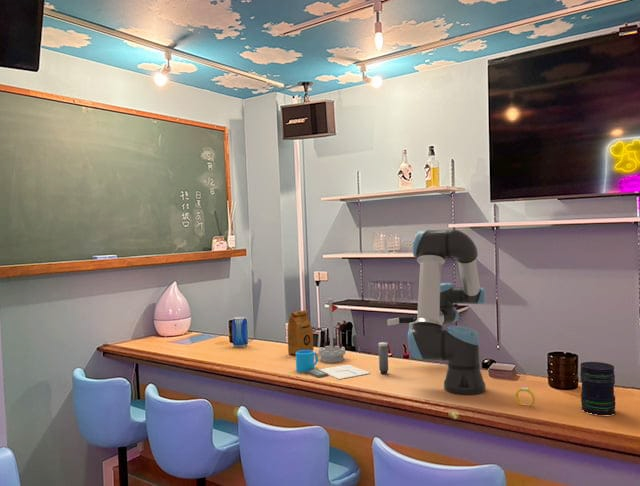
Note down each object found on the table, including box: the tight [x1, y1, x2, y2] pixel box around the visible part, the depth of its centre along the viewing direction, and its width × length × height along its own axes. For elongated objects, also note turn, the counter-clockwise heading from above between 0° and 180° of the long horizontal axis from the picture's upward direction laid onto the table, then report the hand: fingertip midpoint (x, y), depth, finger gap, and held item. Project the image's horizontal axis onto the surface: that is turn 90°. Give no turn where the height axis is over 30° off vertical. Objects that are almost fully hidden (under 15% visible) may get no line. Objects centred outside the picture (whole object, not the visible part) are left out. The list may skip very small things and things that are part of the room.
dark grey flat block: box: [306, 368, 329, 379], centre depth 222 cm, size 10×5×1 cm, turn 30°
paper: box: [318, 364, 371, 381], centre depth 224 cm, size 18×16×1 cm
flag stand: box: [318, 297, 346, 363], centre depth 247 cm, size 13×13×30 cm
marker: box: [378, 341, 389, 375], centre depth 220 cm, size 4×4×13 cm
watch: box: [515, 386, 536, 407], centre depth 174 cm, size 6×3×6 cm, turn 51°
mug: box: [295, 350, 319, 373], centre depth 231 cm, size 12×8×8 cm
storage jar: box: [579, 361, 616, 415], centre depth 166 cm, size 10×10×15 cm
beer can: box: [231, 316, 249, 349], centre depth 285 cm, size 8×8×16 cm
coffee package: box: [287, 309, 315, 356], centre depth 263 cm, size 10×12×22 cm
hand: (398, 324), depth 225 cm, fingers open, 13 cm apart
